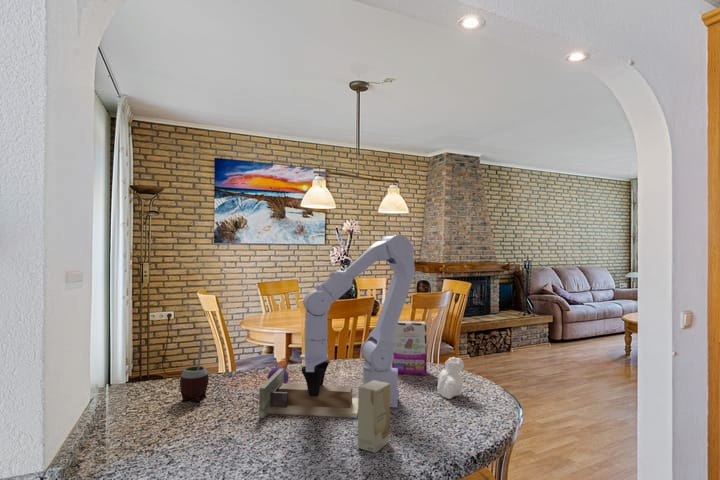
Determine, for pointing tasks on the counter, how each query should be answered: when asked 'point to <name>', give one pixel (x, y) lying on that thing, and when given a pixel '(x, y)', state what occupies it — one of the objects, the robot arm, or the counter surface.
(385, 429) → the skincare box
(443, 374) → the bust
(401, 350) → the candy bar box
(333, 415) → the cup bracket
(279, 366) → the kendama
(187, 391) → the mate gourd
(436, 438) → the counter surface
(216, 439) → the counter surface
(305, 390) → the rail
